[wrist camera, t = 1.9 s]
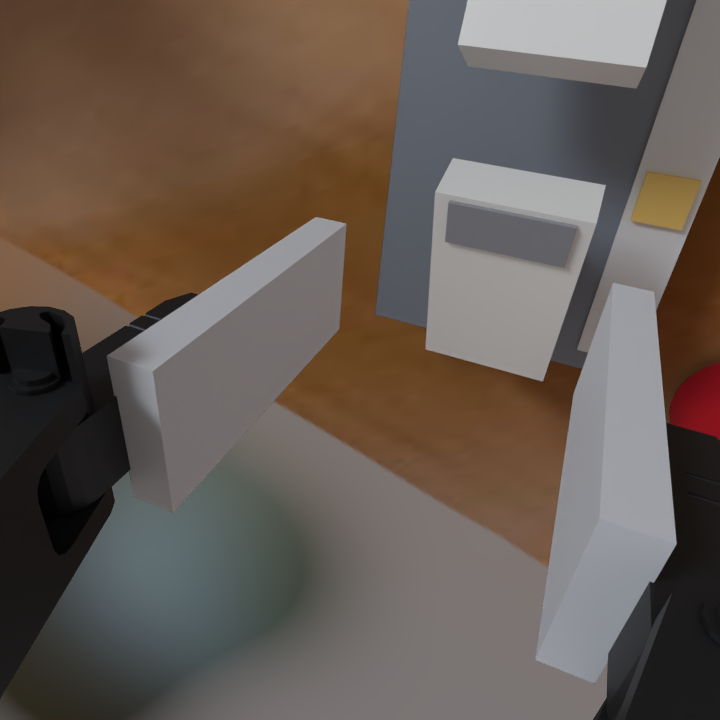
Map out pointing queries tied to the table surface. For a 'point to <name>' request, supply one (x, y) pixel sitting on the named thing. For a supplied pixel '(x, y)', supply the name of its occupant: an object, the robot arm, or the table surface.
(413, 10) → the switch unit
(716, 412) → the beverage can
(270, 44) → the table surface
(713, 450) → the robot arm
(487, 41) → the block
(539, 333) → the rocker
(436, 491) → the table surface
